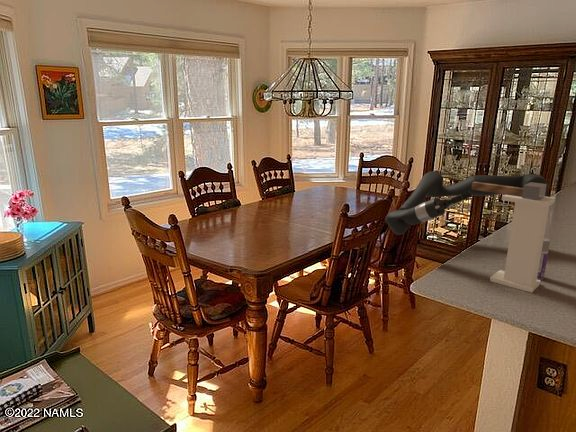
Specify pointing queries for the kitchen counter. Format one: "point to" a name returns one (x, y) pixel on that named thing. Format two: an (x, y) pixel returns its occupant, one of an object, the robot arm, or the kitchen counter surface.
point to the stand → (524, 243)
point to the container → (543, 259)
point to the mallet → (514, 189)
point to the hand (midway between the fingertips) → (466, 195)
